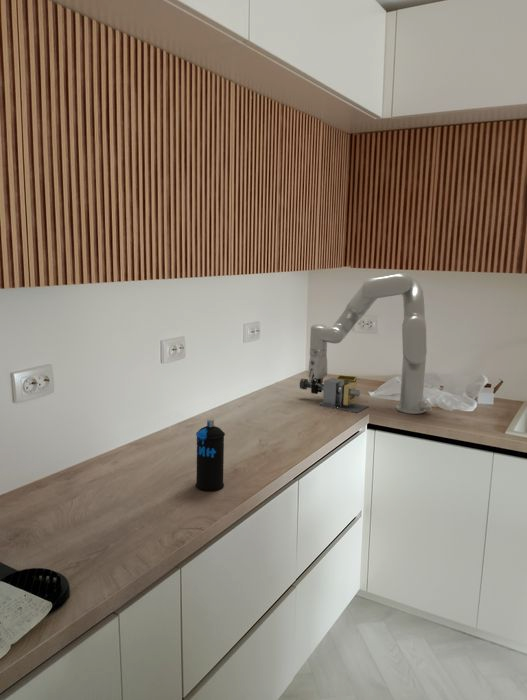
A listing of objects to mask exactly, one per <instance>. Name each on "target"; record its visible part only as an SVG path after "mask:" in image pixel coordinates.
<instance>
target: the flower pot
mask: <svg viewBox="0 0 527 700" xmlns="http://www.w3.org/2000/svg"><path fill="white" fill-rule="evenodd" d="M336 379H343V380H344V386H345V385H347V384H348V382H351V383H352V382H354V383H357V379H358V377H357V376H353V375H340V374H339V375H337V377H336Z"/></svg>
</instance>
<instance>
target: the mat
mask: <svg viewBox="0 0 527 700" xmlns="http://www.w3.org/2000/svg"><path fill="white" fill-rule="evenodd" d="M369 407H370V406H369V405H364V404H359V403H355V402H354V403H352V404H350V405H348V406H347V405H346V406H344V407H342V408H340V407H338V408H336V409H335V410H338V409H341V410H340V411H343V410H346V411H345V412H349V411H351V412H350V413H354V412H356V413H355V414H359V413H360V412H363V411H365V410H366V409H368V408H369ZM358 412H359V413H358Z"/></svg>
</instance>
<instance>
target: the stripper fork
mask: <svg viewBox="0 0 527 700" xmlns="http://www.w3.org/2000/svg"><path fill="white" fill-rule="evenodd" d="M350 383H351V382H348V384H350ZM343 401H344V384H343V385H341V394H340V408H342V407H344V406H346V405H343Z"/></svg>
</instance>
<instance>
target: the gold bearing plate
mask: <svg viewBox="0 0 527 700" xmlns="http://www.w3.org/2000/svg"><path fill="white" fill-rule="evenodd" d="M357 383H358V382H356V383H354V382H352V383H350V384H347V385H345V386H344V401H343V405H347V406H348V405H350V404H352V403H354V404H355V402H357V396H352V395H350V390H352V389H355V390H357V388H358V387H357V386H358V384H357Z"/></svg>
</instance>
